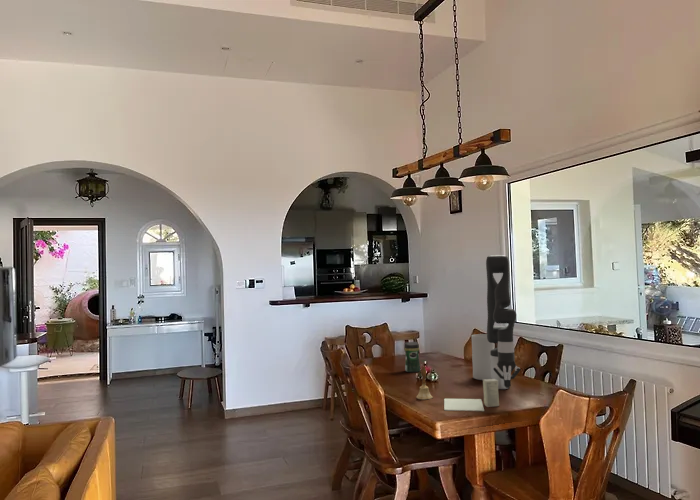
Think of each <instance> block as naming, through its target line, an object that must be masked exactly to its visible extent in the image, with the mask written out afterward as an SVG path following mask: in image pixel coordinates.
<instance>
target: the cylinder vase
mask: <svg viewBox="0 0 700 500" xmlns="http://www.w3.org/2000/svg"><path fill="white" fill-rule="evenodd" d="M494 344H495V343H490V342H488V340H487V333H478V334H472V335H471V353H472V354H471V359H472V360H471V361H472V378H473V379H475V380H478V381H483V379H491V355H490V351H491V350H492V349H495V347H494V346H495V345H494Z"/></svg>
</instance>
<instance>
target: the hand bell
mask: <svg viewBox="0 0 700 500" xmlns="http://www.w3.org/2000/svg"><path fill="white" fill-rule="evenodd" d="M420 372H421V373H420V374H421V379H422V382H421V383H422V385H421V386H419V391H418V394H417V395H416V397H415V398H416V399H418V400H432V399H433V396H432V395H431V392H430V390H429V387H428V386H427V385H426V384H427V383H426V378H427V369H426V366H425V365H422V366H421V368H420Z"/></svg>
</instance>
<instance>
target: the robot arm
mask: <svg viewBox="0 0 700 500" xmlns="http://www.w3.org/2000/svg"><path fill="white" fill-rule="evenodd" d="M485 265H486V268H485V269H486V280H487V283H486V285H487V293H486V305H487V308H486V309H487V320H486V321H487V323H486V324H487V325H486V326H487V327H486V334H487V340H488V342H490V343H494V344H497V347H494V349H492V350H491V351H490V355H491V379H496V380H498V390H506V389H510V387H511V386H512V385H511V380H513V379H515V378H516V377H517V375H518V374H519V373H520V371H521V368H520V367H519V366H517V364H516V361H515V357H516V356H515V344H514V328H515V324H516V319H517V312H516V310H515V309H513V308H508V307H510V305H511V295H510V262H509V258H508V256H507V255H506V254H505V255H504V254H495V255H493V254H491V255H488V256H487V257H486V260H485ZM494 274H502V276H501V279H500V281H499V282H497V280H496V278H495V277H494ZM495 323H496V324H499V325H495ZM500 324H502V325H500ZM503 324H508V325H507V326H506V325H503Z"/></svg>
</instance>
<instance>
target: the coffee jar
mask: <svg viewBox="0 0 700 500" xmlns="http://www.w3.org/2000/svg"><path fill="white" fill-rule="evenodd" d="M403 346H404V347H403V348H404V352H405V363H404V370H405V372H407V373H418V372H421V363H420V356H419V352H420V345H419V343H418V342H417V341H410V342H405V343H404V345H403Z"/></svg>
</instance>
